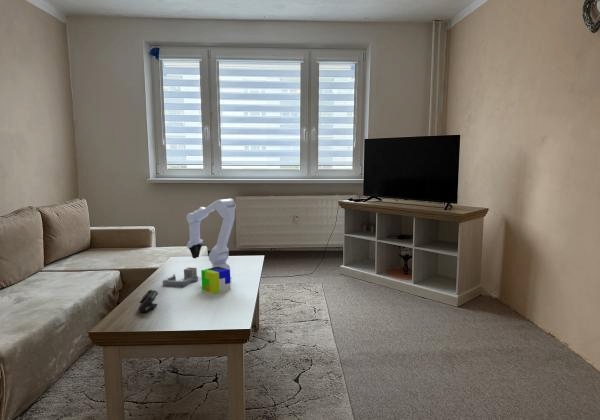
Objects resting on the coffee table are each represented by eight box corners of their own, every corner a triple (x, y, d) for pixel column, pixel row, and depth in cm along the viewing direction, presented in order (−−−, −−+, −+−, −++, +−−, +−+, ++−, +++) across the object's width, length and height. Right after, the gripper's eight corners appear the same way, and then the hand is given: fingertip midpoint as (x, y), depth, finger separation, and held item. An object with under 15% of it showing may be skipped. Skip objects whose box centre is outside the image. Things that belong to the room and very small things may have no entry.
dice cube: (196, 276, 231) (196, 267, 230) (192, 279, 226) (192, 270, 225) (188, 276, 232) (188, 267, 231) (184, 278, 227) (183, 269, 226)
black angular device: (154, 307, 186) (140, 299, 185) (164, 293, 186) (151, 285, 184) (147, 320, 175) (133, 311, 173) (158, 304, 174) (144, 296, 172)
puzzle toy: (230, 289, 207) (230, 269, 206) (213, 294, 199) (213, 273, 198) (218, 285, 214) (218, 266, 212) (202, 289, 206) (201, 270, 205)
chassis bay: (173, 278, 226) (173, 273, 226) (198, 280, 223) (198, 274, 222) (160, 285, 214) (159, 279, 214) (186, 287, 211) (186, 281, 210)
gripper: (194, 231, 241) (195, 254, 243) (181, 235, 227) (182, 260, 229) (205, 232, 239) (206, 255, 241) (193, 236, 226) (194, 260, 227)
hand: (195, 257), depth 235 cm, fingers closed
